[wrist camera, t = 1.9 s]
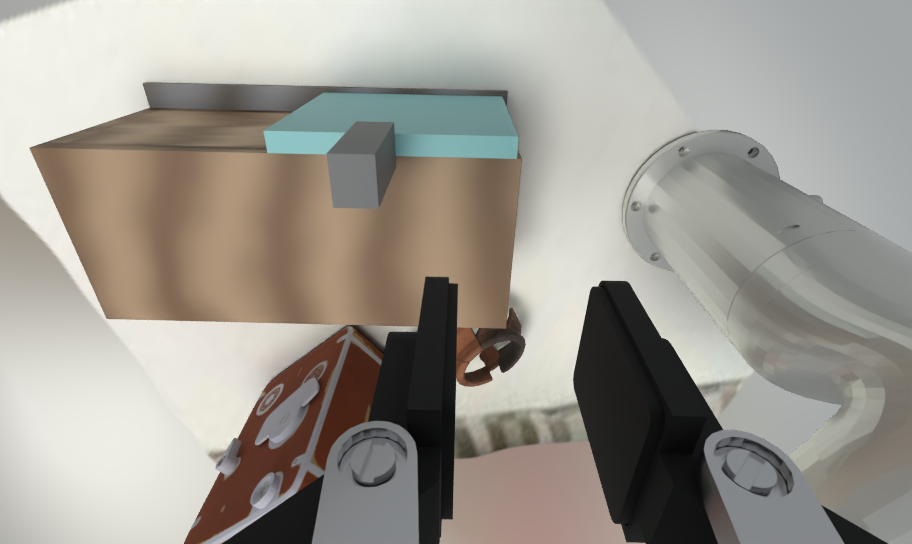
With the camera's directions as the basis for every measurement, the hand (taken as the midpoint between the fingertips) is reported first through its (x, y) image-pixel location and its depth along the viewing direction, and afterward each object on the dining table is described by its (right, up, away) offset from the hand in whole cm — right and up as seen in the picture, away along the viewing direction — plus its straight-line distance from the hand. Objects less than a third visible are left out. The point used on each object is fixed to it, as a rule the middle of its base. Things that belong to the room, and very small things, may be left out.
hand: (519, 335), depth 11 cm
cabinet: (-12, +9, +29) cm, 32 cm away
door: (-5, +14, +24) cm, 29 cm away
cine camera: (-17, -11, +41) cm, 45 cm away
